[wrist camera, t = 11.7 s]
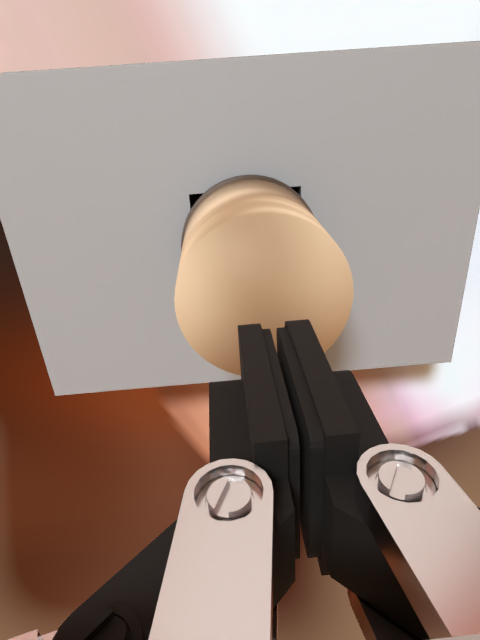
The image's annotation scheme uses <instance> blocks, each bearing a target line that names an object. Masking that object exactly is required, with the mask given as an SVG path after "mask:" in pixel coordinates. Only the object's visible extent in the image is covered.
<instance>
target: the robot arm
mask: <svg viewBox="0 0 480 640" xmlns="http://www.w3.org/2000/svg"><path fill="white" fill-rule="evenodd" d="M276 335H277V352H276V348H275V345H274V341H273V337H272V333H271V330H270V329H262V327H261V323H258V324H246V325H238V341H239V355H240V369H241V379H240V380H229V381H217V382H210V383H209V427H210V463H209V464H207V465H205V466H204V467H202V468H201V469H199V470H197V472H196V473H195V474H194V475H193V476H192V477H191V478H190V479H189V482H188V484H187V486H186V488H185V491H184V496H183V500H182V504H181V508H180V512H179V516H178V519H177V520H176V521H175V522H174V523H173V524H171V525H170V526H169V527H168V528H167V529H166V530H165V531H164V532H163V533H161V534H160V535H159V536H158V537H157V538H156V539H155V540H154V541H152V542H151V543H150V544H149V545H148V546H147V547H146V548H145V549H143V550H142V551H141V552H140V553H139V554H138V555H137V556H136V557H134V558H133V559H132V560H131V561H130V562H129V563H128V564H127V565H125V566H124V567H123V568H122V569H121V570H120V571H119V572H118V573H116V574H115V575H114V576H113V577H112V578H111V579H110V580H109V581H107V582H106V583H105V584H104V585H103V586H102V587H101V588H100V589H99V590H97V591H96V592H95V593H94V594H93V595H92V596H91V597H90V598H89V599H87V600H86V601H85V602H84V603H83V604H82V605H81V606H79V607H78V608H77V609H76V610H75V611H74V612H73V613H72V614H71V615H70V616H69V617H68V618H67V619H66V620H65V621H64V623H63V624H62V625H61V626H60V627H59V629H58V630H57V631H54V632H51V633H48V634H45V635H43V636H41V635H40V633H39V631H38V629H37V630H34V631H31V632H28V633H25V634H22V635H19V636H16V637H13V638H10V639H7V640H278V602H279V601H280V600H281V598H282V597H283V596H284V594H285V593H286V592H287V591H288V589H289V588H290V586H291V585H292V584H293V583H294V581H295V559H299V558H300V526H301V530H302V535H303V540H304V544H305V549H306V553H307V556H308V558H313V557H317V558H318V562H319V566H320V571H321V575H330V576H331V577H332V578H333V579H335V580H336V581H337V582H339V583H340V584H342V585H343V586H345V587H346V588H347V589H348V591H347V593H348V597H349V601H350V605H351V607H352V609H353V611H354V614H355V616H356V619H357V621H358V623H359V625H360V628H361V630H362V632H363V635H364V637H365V639H366V640H480V508H478V507H476V505H475V504H474V503H473V502H472V501H471V500H470V498H469V497H468V496H467V495H466V494H465V492H464V491H463V490H462V489H461V488H460V487H459V485H458V484H457V483H456V482H455V481H454V479H453V478H452V477H451V476H450V475H449V474H448V472H447V471H446V470H445V469H444V468H443V466H442V465H441V464H440V463H438V462H437V461H436V460H435V459H434V458H433V457H432V456H430V455H428V454H427V453H425V452H423V451H421V450H419V449H417V448H414V447H411V446H407V445H401V444H393V443H392V444H389V443H388V441H387V439H386V437H385V435H384V433H383V431H382V429H381V427H380V425H379V423H378V422H377V420H376V418H375V416H374V414H373V412H372V410H371V408H370V406H369V404H368V402H367V400H366V398H365V397H364V395H363V393H362V391H361V389H360V387H359V385H358V383H357V381H356V379H355V377H354V375H353V374H352V372H351V371H349V370H342V371H332V369H331V367H330V365H329V362H328V360H327V358H326V356H325V353H324V351H323V349H322V347H321V345H320V342H319V340H318V338H317V336H316V334H315V331H314V329H313V327H312V325H311V322H310V321H309V319H305V320H293V321H285V326H284V327H282V328H277V331H276Z"/></svg>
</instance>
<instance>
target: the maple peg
mask: <svg viewBox="0 0 480 640" xmlns="http://www.w3.org/2000/svg"><path fill="white" fill-rule="evenodd" d="M353 296H354V293H353V279H352V273H351V270H350V267H349V264H348V262H347V260H346V258H345V255H344V254H343V252H342V251H341V249H340V248H339V246H338V245H337V243H336V242H335V241H334V240H333V239H332V237H331V236H330V235H329V234H328V233H327V231H326V230H325V229H324V228H323V227H322V225H321V224H320V223H319V222H318V221H317V219H316V218H315V217H314V215H313V213H312V211H311V209H310V208H309V206H308V205H307V203H306V202H305V201H304V200H303V198H302V197H301V196H300V195H299V194H298V193H297V192H296V191H295V190H293V189H292V188H291V187H290V186H288V185H286V184H285V183H283V182H281V181H279V180H276V179H274V178H271V177H267V176H262V175H241V176H235V177H232V178H228V179H226V180H223V181H221V182H219V183H217V184H215V185H214V186H212V187H211V188H209V189H208V190H207V191H206V192H204V193H203V194H202V195H201V196H200V197H199V198H198V199H197V201H196V202H195V203H194V205H193V206H192V208H191V210H190V212H189V213H188V215H187V218H186V221H185V223H184V227H183V232H182V239H181V257H180V263H179V269H178V274H177V280H176V286H175V296H174V303H175V312H176V317H177V321H178V324H179V326H180V329H181V331H182V333H183V335H184V337H185V339H186V340H187V342H188V343H189V344H190V346H191V347H192V348H193V349H194V350H195V351H196V352H197V353H198V354H199V355H200V356H201V357H202V358H204V359H205V360H206V361H207V362H209V363H211V364H212V365H214V366H216V367H218V368H220V369H222V370H224V371H227V372H230V373H233V374H236V375H241V369H240V355H239V341H238V325H246V324H258V323H261V327H262V329H270V330H271V333H272V337H273V341H274V345H275V348H276V352H277V335H276V331H277V328H282V327H284V326H285V321H293V320H305V319H309V321H310V322H311V325H312V327H313V329H314V331H315V334H316V336H317V338H318V340H319V342H320V345H321V347H322V349H323V351H324V353H325V352H326V351H327V350H328V349H329V348H330V347H331V346H332V345H333V344H334V342H335V341H336V340H337V338H338V337H339V336H340V334H341V332H342V331H343V329H344V327H345V325H346V323H347V321H348V318H349V316H350V312H351V308H352V303H353Z"/></svg>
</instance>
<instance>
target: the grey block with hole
mask: <svg viewBox="0 0 480 640" xmlns="http://www.w3.org/2000/svg"><path fill="white" fill-rule="evenodd" d="M241 175H262V176H267V177H271V178H274V179H276V180H279V181H281V182H283V183H285V184H286V185H288V186H290V187H291V188H292V189H293V190H295V191H296V192H297V193H298V194H299V195H300V196H301V197H302V198H303V200H304V201H305V202H306V203H307V205H308V206H309V208H310V209H311V211H312V213H313V215H314V217H315V218H316V219H317V221H318V222H319V223H320V224H321V225H322V227H323V228H324V229H325V230H326V231H327V233H328V234H329V235H330V236H331V237H332V239H333V240H334V241H335V242H336V243H337V245H338V246H339V248H340V249H341V251H342V252H343V254H344V255H345V258H346V260H347V262H348V264H349V267H350V270H351V273H352V279H353V293H354V296H353V303H352V308H351V312H350V316H349V318H348V321H347V323H346V325H345V327H344V329H343V331H342V332H341V334H340V336H339V337H338V338H337V340H336V341H335V342H334V344H333V345H332V346H331V347H330V348H329V349H328V350H327V351H326V352H325V356H326V358H327V360H328V362H329V365H330V367H331V369H332V371H342V370H349V371H350V370H362V369H374V368H385V367H397V366H409V365H421V364H432V363H444V362H451V359H452V353H453V348H454V343H455V337H456V332H457V326H458V321H459V316H460V310H461V305H462V299H463V294H464V289H465V283H466V278H467V272H468V267H469V262H470V256H471V251H472V245H473V240H474V235H475V229H476V224H477V218H478V213H479V208H480V41H469V42H454V43H439V44H424V45H409V46H394V47H379V48H364V49H349V50H334V51H319V52H304V53H289V54H274V55H259V56H244V57H229V58H214V59H199V60H184V61H169V62H154V63H139V64H124V65H109V66H94V67H79V68H64V69H49V70H34V71H19V72H4V73H0V219H1V222H2V225H3V228H4V231H5V235H6V238H7V241H8V244H9V248H10V251H11V254H12V257H13V261H14V264H15V267H16V270H17V273H18V277H19V280H20V283H21V286H22V290H23V293H24V296H25V299H26V303H27V306H28V308H29V312H30V315H31V318H32V322H33V325H34V328H35V331H36V334H37V338H38V341H39V344H40V348H41V351H42V354H43V357H44V361H45V364H46V367H47V370H48V373H49V377H50V380H51V383H52V386H53V389H54V393H55V396H56V395H68V394H79V393H91V392H103V391H115V390H127V389H138V388H151V387H162V386H174V385H186V384H197V383H209V382H217V381H229V380H240V379H241V375H236V374H233V373H230V372H227V371H224V370H222V369H220V368H218V367H216V366H214V365H212V364H211V363H209V362H207V361H206V360H205V359H204V358H202V357H201V356H200V355H199V354H198V353H197V352H196V351H195V350H194V349H193V348H192V347H191V346H190V344H189V343H188V342H187V340H186V339H185V337H184V335H183V333H182V331H181V329H180V326H179V324H178V321H177V317H176V312H175V303H174V296H175V286H176V280H177V274H178V269H179V263H180V257H181V239H182V232H183V227H184V223H185V221H186V218H187V215H188V213H189V212H190V210H191V208H192V206H193V205H194V203H195V199H194V194H201V193H204V192H206V191H207V190H208V189H209V188H211V187H212V186H214V185H215V184H217V183H219V182H221V181H223V180H226V179H228V178H232V177H235V176H241Z"/></svg>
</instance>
